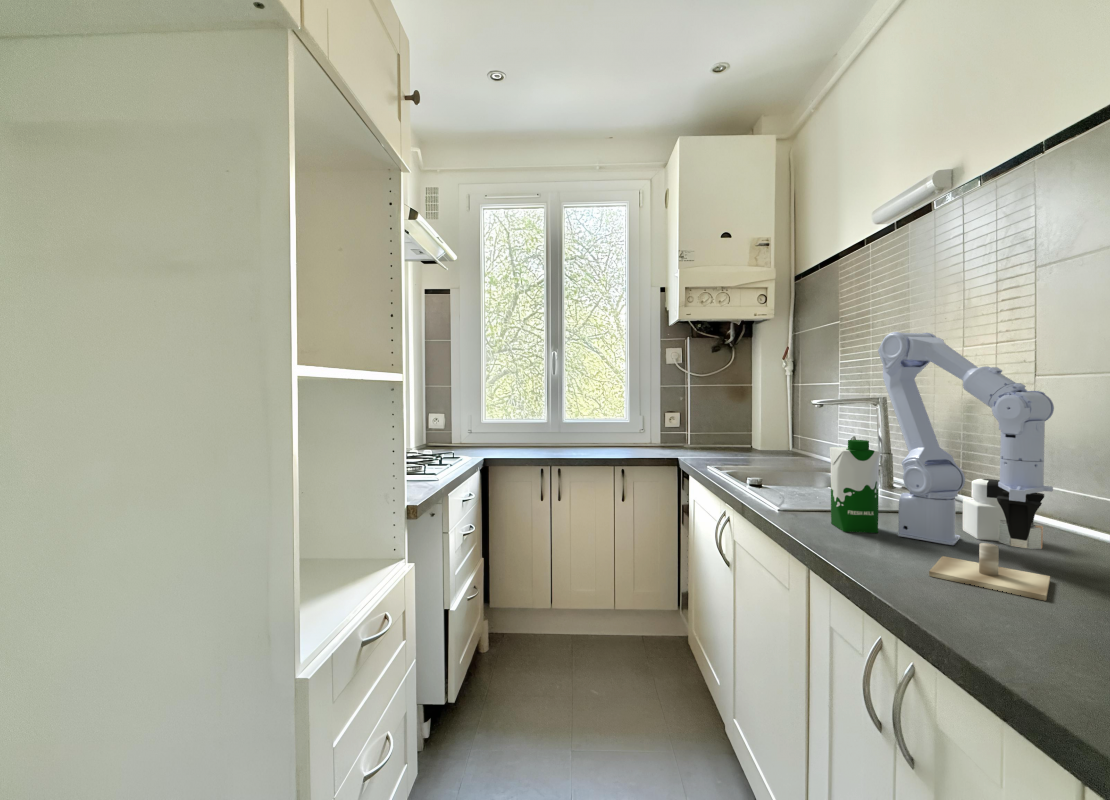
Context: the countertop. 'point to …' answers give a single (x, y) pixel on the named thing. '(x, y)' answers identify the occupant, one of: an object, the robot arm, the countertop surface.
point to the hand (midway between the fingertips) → (1020, 535)
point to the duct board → (989, 582)
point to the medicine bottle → (983, 510)
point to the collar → (1032, 541)
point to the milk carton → (855, 487)
